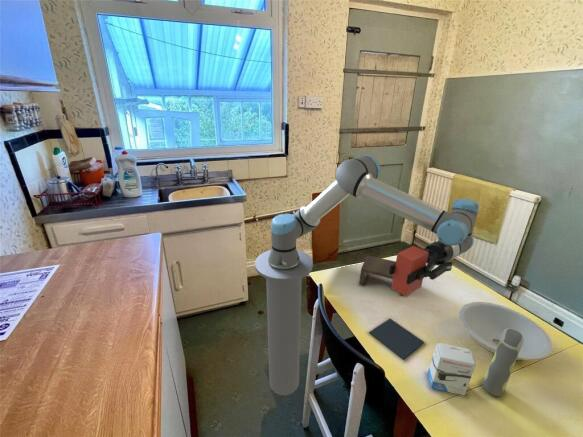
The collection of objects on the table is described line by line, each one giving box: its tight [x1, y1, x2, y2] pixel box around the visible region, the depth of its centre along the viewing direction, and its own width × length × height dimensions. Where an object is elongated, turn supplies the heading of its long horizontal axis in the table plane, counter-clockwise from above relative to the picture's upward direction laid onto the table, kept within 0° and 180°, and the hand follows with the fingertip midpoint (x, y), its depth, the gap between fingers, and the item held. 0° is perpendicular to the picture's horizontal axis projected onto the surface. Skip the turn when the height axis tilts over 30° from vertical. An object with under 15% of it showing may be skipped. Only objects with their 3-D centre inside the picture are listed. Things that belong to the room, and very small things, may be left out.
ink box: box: [427, 342, 477, 396], centre depth 76 cm, size 8×5×12 cm, turn 76°
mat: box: [369, 318, 425, 361], centre depth 93 cm, size 13×11×1 cm
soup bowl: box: [458, 301, 554, 361], centre depth 91 cm, size 24×24×7 cm
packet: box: [391, 245, 429, 297], centre depth 84 cm, size 5×8×12 cm, turn 126°
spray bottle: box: [481, 328, 524, 397], centre depth 73 cm, size 5×5×20 cm
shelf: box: [358, 255, 405, 297], centre depth 120 cm, size 18×12×8 cm, turn 66°
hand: (399, 274), depth 81 cm, fingers closed on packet, 5 cm apart
